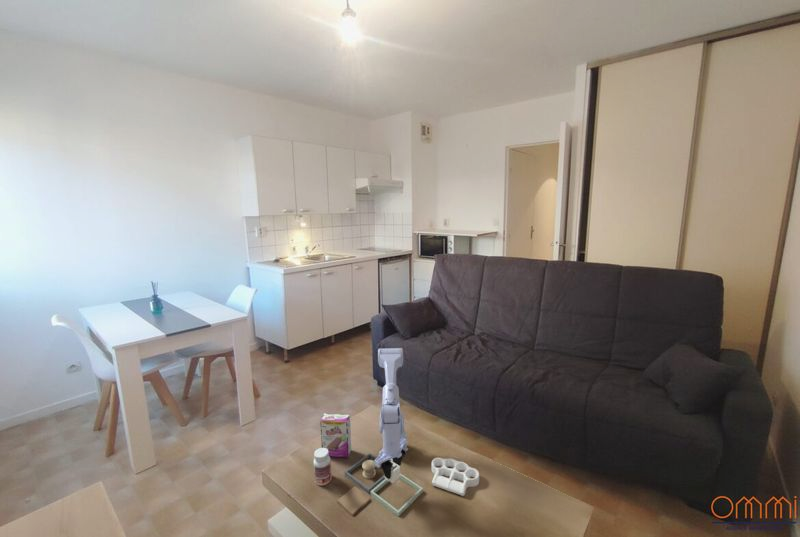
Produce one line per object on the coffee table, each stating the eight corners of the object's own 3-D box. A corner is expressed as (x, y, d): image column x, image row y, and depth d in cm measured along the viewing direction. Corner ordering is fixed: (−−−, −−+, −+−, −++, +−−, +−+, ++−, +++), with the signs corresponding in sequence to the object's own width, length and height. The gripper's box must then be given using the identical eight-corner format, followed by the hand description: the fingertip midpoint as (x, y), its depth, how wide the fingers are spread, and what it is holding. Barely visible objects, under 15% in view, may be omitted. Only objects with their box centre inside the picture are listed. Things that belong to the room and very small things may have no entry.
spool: (369, 467, 135) (369, 457, 134) (378, 473, 132) (378, 464, 131) (359, 474, 131) (359, 465, 130) (369, 481, 128) (368, 471, 127)
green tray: (395, 473, 131) (395, 470, 131) (422, 491, 123) (422, 488, 122) (370, 495, 122) (370, 491, 121) (398, 516, 113) (398, 512, 113)
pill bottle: (334, 481, 128) (332, 453, 126) (318, 488, 125) (316, 460, 123) (327, 470, 133) (326, 444, 131) (312, 477, 130) (310, 450, 128)
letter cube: (391, 470, 123) (391, 460, 123) (400, 476, 121) (400, 466, 120) (384, 477, 120) (383, 467, 120) (392, 483, 118) (392, 472, 117)
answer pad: (354, 488, 125) (354, 486, 125) (370, 500, 120) (370, 498, 119) (337, 502, 119) (337, 500, 119) (352, 515, 114) (352, 513, 114)
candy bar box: (321, 457, 140) (319, 420, 137) (325, 448, 145) (323, 412, 142) (349, 458, 139) (347, 421, 136) (351, 449, 144) (350, 413, 141)
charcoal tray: (369, 456, 140) (369, 453, 140) (393, 472, 132) (393, 468, 132) (344, 475, 131) (344, 471, 131) (368, 493, 122) (368, 489, 122)
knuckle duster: (423, 485, 126) (437, 458, 139) (472, 502, 119) (482, 472, 132) (423, 476, 126) (437, 451, 139) (472, 493, 118) (482, 464, 131)
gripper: (385, 455, 110) (386, 492, 112) (413, 432, 121) (414, 466, 123) (369, 445, 114) (370, 481, 117) (398, 424, 125) (399, 457, 128)
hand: (392, 473), depth 120 cm, fingers closed on letter cube, 4 cm apart
